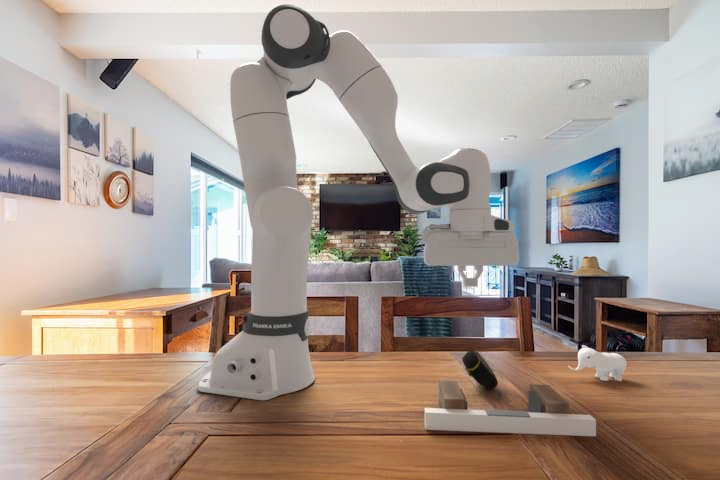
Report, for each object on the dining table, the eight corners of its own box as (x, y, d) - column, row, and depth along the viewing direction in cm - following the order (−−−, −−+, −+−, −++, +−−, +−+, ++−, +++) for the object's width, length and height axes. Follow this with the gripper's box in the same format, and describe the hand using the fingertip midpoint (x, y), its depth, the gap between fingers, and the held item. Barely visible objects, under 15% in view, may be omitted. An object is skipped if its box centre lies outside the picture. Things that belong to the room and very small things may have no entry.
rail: (425, 432, 54) (425, 402, 54) (421, 406, 62) (421, 380, 62) (596, 441, 51) (596, 409, 51) (567, 412, 60) (567, 385, 60)
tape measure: (488, 395, 69) (503, 383, 68) (467, 379, 66) (483, 367, 66) (472, 369, 75) (486, 358, 75) (453, 353, 72) (467, 342, 72)
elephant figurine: (558, 372, 78) (558, 343, 78) (613, 372, 78) (613, 342, 78) (579, 386, 71) (579, 353, 71) (640, 385, 71) (640, 353, 71)
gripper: (423, 223, 78) (423, 287, 78) (522, 222, 76) (522, 288, 76) (421, 224, 84) (421, 284, 84) (512, 223, 82) (512, 284, 82)
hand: (470, 286), depth 80 cm, fingers closed
